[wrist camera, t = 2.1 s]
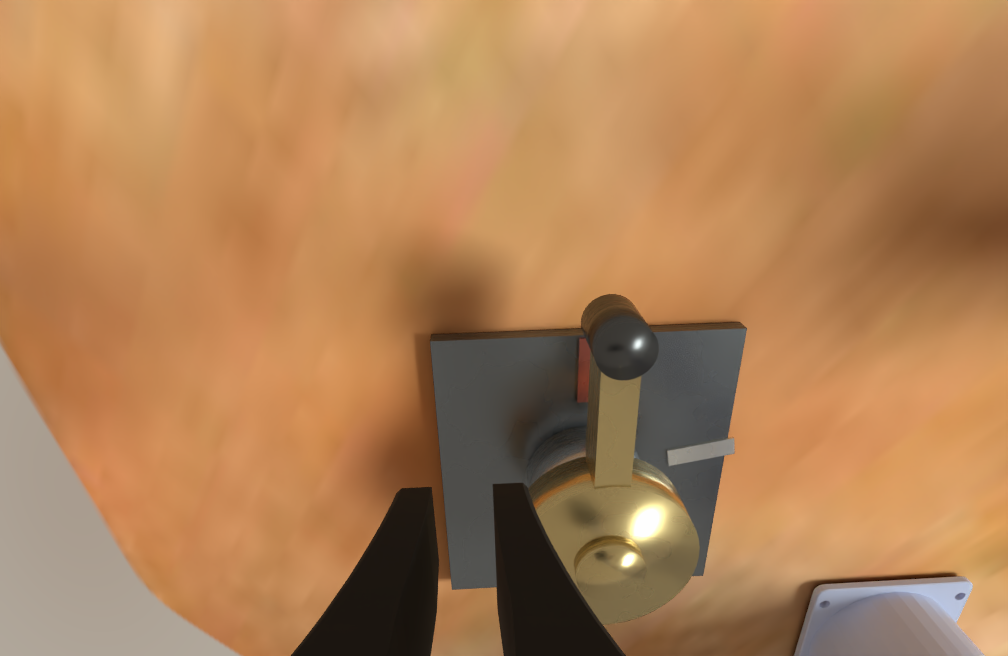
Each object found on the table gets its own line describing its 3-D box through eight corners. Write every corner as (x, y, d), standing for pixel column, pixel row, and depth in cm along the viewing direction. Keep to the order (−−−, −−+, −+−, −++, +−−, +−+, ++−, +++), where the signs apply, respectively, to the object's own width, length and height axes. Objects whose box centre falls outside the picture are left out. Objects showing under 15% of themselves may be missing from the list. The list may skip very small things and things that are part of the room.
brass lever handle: (671, 577, 22) (694, 634, 20) (513, 586, 22) (518, 645, 20) (713, 290, 17) (749, 322, 15) (507, 298, 17) (512, 332, 14)
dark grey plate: (705, 565, 27) (734, 624, 24) (452, 579, 26) (449, 641, 23) (749, 321, 21) (792, 359, 18) (431, 334, 21) (424, 375, 18)
